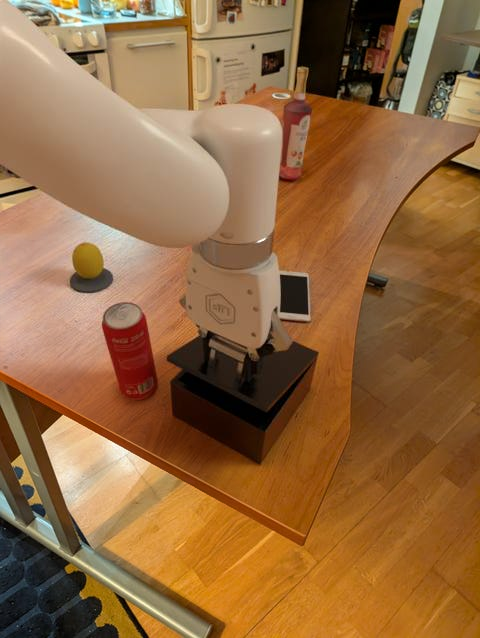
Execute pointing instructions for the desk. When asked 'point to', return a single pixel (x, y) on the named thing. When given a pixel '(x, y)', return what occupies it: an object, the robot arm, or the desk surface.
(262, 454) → the black open square box
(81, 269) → the lemon
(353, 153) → the desk surface
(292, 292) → the smartphone
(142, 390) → the beverage can
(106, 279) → the coaster
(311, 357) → the lid
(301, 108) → the liquor
